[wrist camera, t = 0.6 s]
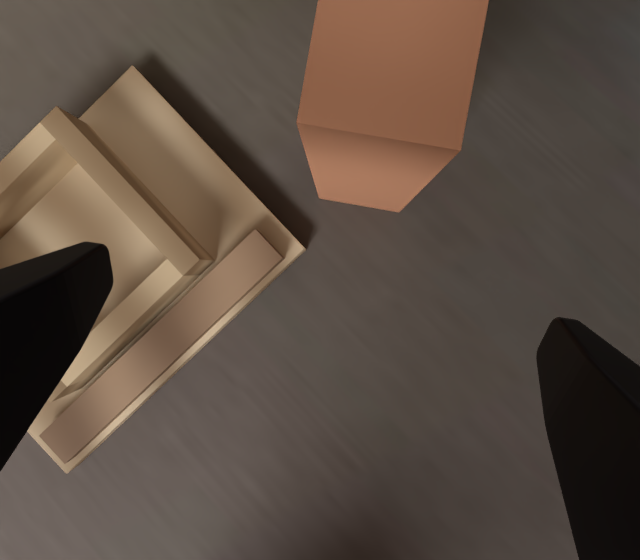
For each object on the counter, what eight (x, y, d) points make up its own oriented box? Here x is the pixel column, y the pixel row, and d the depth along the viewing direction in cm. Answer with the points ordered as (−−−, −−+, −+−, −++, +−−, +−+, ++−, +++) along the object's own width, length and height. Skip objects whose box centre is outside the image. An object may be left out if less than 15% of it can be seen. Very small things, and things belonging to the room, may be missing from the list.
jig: (80, 463, 24) (33, 498, 20) (-77, 293, 24) (-152, 297, 21) (306, 249, 23) (300, 245, 20) (142, 75, 24) (106, 39, 20)
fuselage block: (400, 212, 23) (462, 150, 11) (318, 198, 23) (294, 122, 11) (414, 132, 23) (494, -17, 11) (332, 118, 23) (323, -44, 11)
